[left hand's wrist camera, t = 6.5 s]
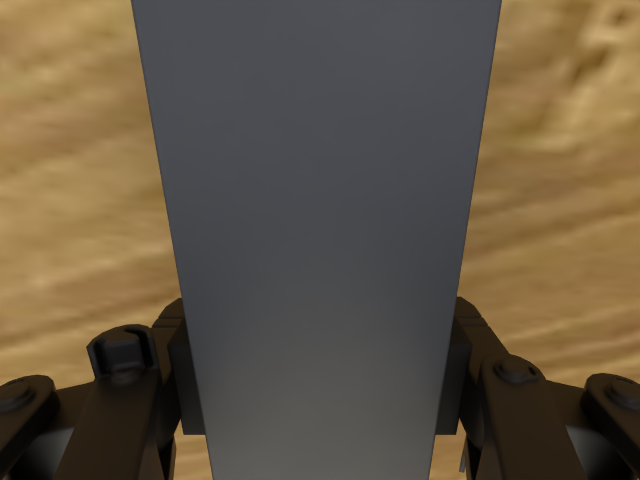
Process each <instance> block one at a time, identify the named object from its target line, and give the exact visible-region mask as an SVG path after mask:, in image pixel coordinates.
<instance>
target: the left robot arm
mask: <svg viewBox="0 0 640 480" xmlns="http://www.w3.org/2000/svg"><path fill="white" fill-rule="evenodd" d="M86 348H87V351H88V355H89V358H90V362H91V365H92V369H93V372H94V376H95V379H94V381H93V382H90V383H86V384H82V385H77V386H73V387H68V388H64V389H59V390H56V388H55V385H54V382H53V380H52V379H51V378H49V377H48V376H44V375H31V376H24V377H21V378H18V379H14V380H12V381H9V382H7V383H5V384H3V385H2V386H0V480H173V477H174V467H175V458H176V444H175V438H174V433H175V430H176V428H177V426H178V423H179V421H180V419H181V423H182V429H183V434H184V435H205V430H204V424H203V418H202V413H201V407H200V401H199V395H198V389H197V383H196V378H195V372H194V366H193V360H192V354H191V348H190V342H189V337H188V331H187V325H186V319H185V313H184V307H183V302H182V298H178V299H177V300H175V301H174V302H172V303H171V304H169V305H168V306H166V307H165V309H164V310H163V311H162V313H161V314H160V315H159V317H158V319H157V320H156V321H155V322H154V324H153V325H152V328H149V327H148V326H144V325H140V324H130V325H123V326H119V327H115V328H112V329H110V330H108V331H105V332H103V333H101V334H100V335H98V336H97V337H95V338H94V339H92V341H91V342H90V343H89V344H88V346H87V347H86ZM459 418H460V420H461V422H462V425H463V427H464V429H465V432H466V438H465V443H464V448H463V453H462V458H461V463H460V469H459V472H463V473H464V470H465V466H466V476H467V480H637V479H639V480H640V384H638V383H636V382H634V381H632V380H630V379H628V378H624V377H621V376H618V375H613V374H606V373H599V374H593V375H591V376H590V377H589V378H588V379H587V381H586V383H585V386H584V389H583V388H579V387H574V386H570V385H565V384H561V383H556V382H552V381H549V380H546V379H545V377H544V375H543V374H542V373H541V371H540V370H539V369H538V368H537V367H536V366H534V365H533V364H532V363H531V362H529V361H527V360H525V359H523V358H521V357H519V356H515V355H511V354H509V353H508V351H507V350H506V348H505V347H504V346H503V344H502V343H501V342H500V340H499V339H498V338H497V336H496V335H495V333H494V332H493V331H492V329H491V328H490V327H489V326H488V324H487V323H486V321H485V320H484V319H483V318H482V317H481V314H480V313H479V312H478V310H477V309H476V308H475V306H474V305H472V304H471V303H469V302H468V301H466V300H465V299H463V298H462V297H456V304H455V310H454V317H453V323H452V330H451V336H450V343H449V349H448V356H447V362H446V369H445V376H444V382H443V389H442V395H441V402H440V408H439V415H438V421H437V428H436V434H435V435H456V432H457V427H458V421H459Z"/></svg>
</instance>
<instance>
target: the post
mask: <svg viewBox="0 0 640 480" xmlns="http://www.w3.org/2000/svg"><path fill="white" fill-rule="evenodd" d="M501 3H502V0H131V4H132V10H133V16H134V22H135V27H136V33H137V39H138V45H139V51H140V57H141V62H142V68H143V74H144V80H145V86H146V92H147V97H148V103H149V109H150V115H151V121H152V127H153V132H154V138H155V144H156V150H157V156H158V162H159V167H160V173H161V179H162V185H163V191H164V197H165V202H166V208H167V214H168V220H169V226H170V232H171V237H172V243H173V249H174V255H175V261H176V267H177V272H178V278H179V284H180V290H181V296H182V302H183V307H184V313H185V319H186V325H187V331H188V337H189V342H190V348H191V354H192V360H193V366H194V372H195V378H196V383H197V389H198V395H199V401H200V407H201V413H202V418H203V424H204V430H205V436H206V442H207V448H208V453H209V459H210V465H211V471H212V477H213V480H429V474H430V467H431V461H432V454H433V447H434V441H435V434H436V428H437V421H438V415H439V408H440V402H441V395H442V389H443V382H444V376H445V369H446V362H447V356H448V349H449V343H450V336H451V330H452V323H453V317H454V310H455V304H456V297H457V290H458V284H459V277H460V271H461V264H462V258H463V251H464V245H465V238H466V232H467V225H468V219H469V212H470V205H471V199H472V192H473V186H474V179H475V173H476V166H477V160H478V153H479V147H480V140H481V134H482V127H483V120H484V114H485V107H486V101H487V94H488V88H489V81H490V75H491V68H492V62H493V55H494V49H495V42H496V35H497V29H498V22H499V16H500V9H501Z"/></svg>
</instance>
